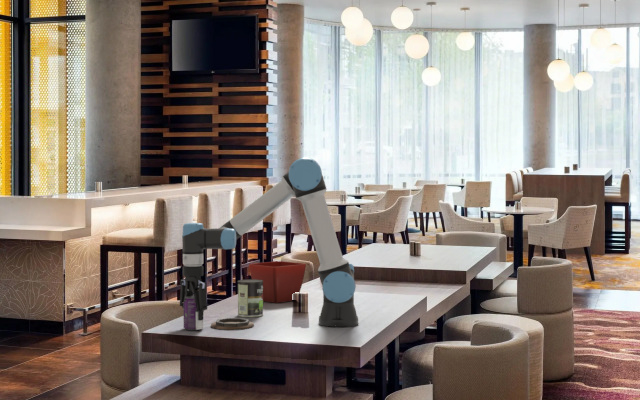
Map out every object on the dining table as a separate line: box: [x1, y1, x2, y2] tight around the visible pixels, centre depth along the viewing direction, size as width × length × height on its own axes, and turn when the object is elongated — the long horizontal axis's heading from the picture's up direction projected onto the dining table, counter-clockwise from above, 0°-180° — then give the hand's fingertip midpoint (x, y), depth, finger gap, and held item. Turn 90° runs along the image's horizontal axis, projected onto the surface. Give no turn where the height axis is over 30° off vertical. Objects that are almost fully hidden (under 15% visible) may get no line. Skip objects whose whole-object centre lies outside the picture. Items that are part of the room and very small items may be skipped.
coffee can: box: [237, 278, 264, 318], centre depth 337 cm, size 10×10×14 cm
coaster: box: [210, 317, 255, 331], centre depth 312 cm, size 16×16×2 cm
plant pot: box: [248, 260, 307, 304], centre depth 377 cm, size 19×19×17 cm
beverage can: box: [183, 294, 200, 331], centre depth 305 cm, size 7×7×12 cm
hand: (193, 327), depth 305 cm, fingers closed on beverage can, 7 cm apart
